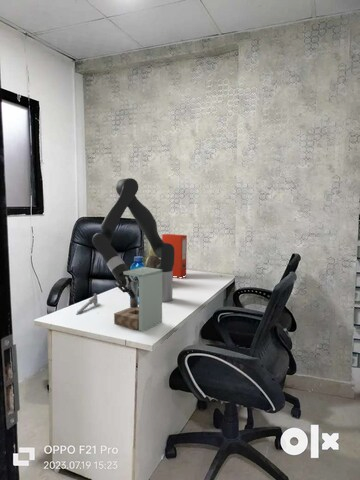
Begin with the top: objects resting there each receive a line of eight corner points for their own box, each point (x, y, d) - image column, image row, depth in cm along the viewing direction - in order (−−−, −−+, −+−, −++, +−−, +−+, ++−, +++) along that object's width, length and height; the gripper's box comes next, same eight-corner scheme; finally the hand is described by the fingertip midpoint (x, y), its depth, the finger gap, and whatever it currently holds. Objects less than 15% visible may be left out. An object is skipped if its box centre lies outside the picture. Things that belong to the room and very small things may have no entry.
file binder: (167, 274, 268) (168, 233, 265) (186, 276, 259) (186, 235, 255) (161, 275, 261) (161, 234, 258) (180, 278, 252) (180, 235, 249)
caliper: (95, 303, 189) (95, 292, 188) (97, 303, 189) (97, 292, 188) (75, 315, 169) (75, 302, 168) (77, 315, 169) (77, 303, 168)
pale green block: (123, 326, 153) (123, 271, 151) (144, 318, 165) (143, 266, 162) (142, 331, 147) (142, 274, 144) (162, 322, 159) (162, 269, 156)
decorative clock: (153, 278, 252) (153, 238, 248) (169, 280, 247) (169, 239, 244) (135, 287, 226) (134, 242, 222) (152, 289, 221) (152, 243, 218)
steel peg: (130, 305, 160) (130, 280, 159) (138, 305, 160) (138, 280, 159) (129, 307, 156) (129, 282, 155) (137, 307, 156) (137, 282, 155)
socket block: (114, 323, 157) (114, 313, 156) (134, 315, 168) (134, 305, 168) (137, 330, 149) (137, 319, 148) (156, 321, 160) (157, 311, 160)
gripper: (111, 265, 154) (131, 295, 149) (132, 260, 166) (151, 289, 160) (103, 275, 158) (122, 305, 152) (124, 270, 170) (143, 298, 164)
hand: (137, 296), depth 156 cm, fingers closed on steel peg, 3 cm apart
